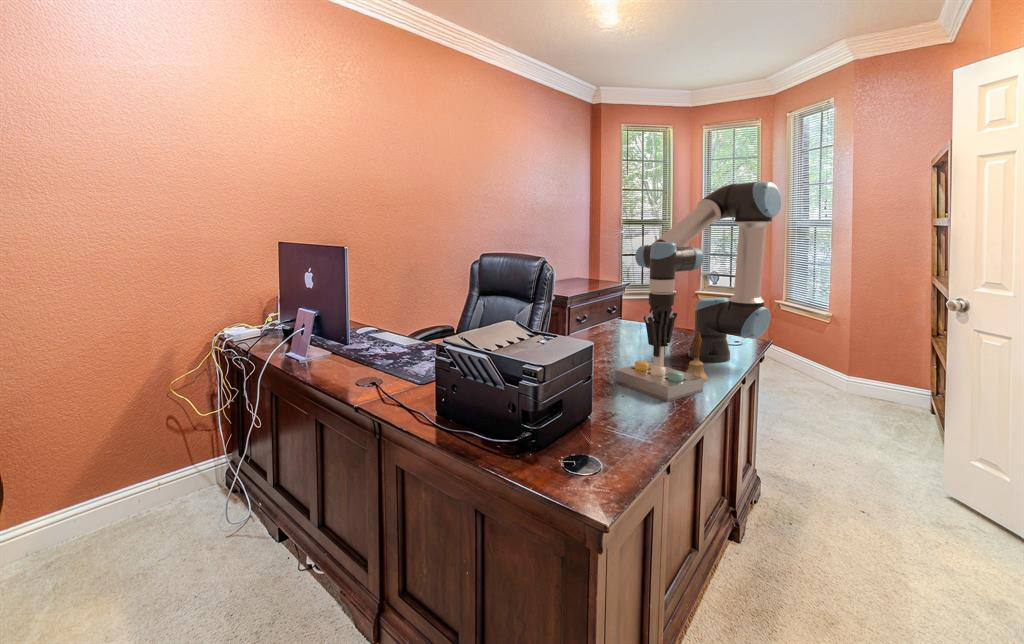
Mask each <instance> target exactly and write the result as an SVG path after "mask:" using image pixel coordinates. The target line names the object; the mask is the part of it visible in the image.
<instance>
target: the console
mask: <svg viewBox="0 0 1024 644" xmlns="http://www.w3.org/2000/svg"><path fill="white" fill-rule="evenodd" d="M647 362H648V363H649V370H648V371H644V372H641V371H637V370H634V365H630V366H626V367H621V368H615V369H614V384H617V385H620V386H622V387H625V388H628V389H630V390H633V391H636V392H639V393H642V394H644V395H647V396H650V397H653V398H656V399H658V400H661V401H663V402H665V403H666V402H667V403H669V402H673V401H676V400H679V399H682V397H683V398H686V397H689V395H690V396H693V395H696V393H697V394H700V393H703V391H704V390H703V389H704V381H703V378H702V377H699V376H695V375H692V374H688V373H686V371H681V370H677V369H674V368H672V367H667V366H664V367H665V368H666V373H665V376H662V377H656V376H653V375H650V373H651V366H654V362H651V361H647ZM669 371H680V372H683V373H684V379H683V381H682V382H679V383H675V382H672V381H669V380H668V372H669Z"/></svg>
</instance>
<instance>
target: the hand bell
mask: <svg viewBox="0 0 1024 644" xmlns="http://www.w3.org/2000/svg"><path fill="white" fill-rule="evenodd" d="M693 336H694V335H693ZM693 338H694V339H693ZM693 338H692V341H693V346H694V359H693V360H690V361H689V363H688V367H687V370H686V371H685V373H688V374H692V375H695V376H699V377H702V378H703V382H706V380H707V381H708V380H709V377H708V375H707V374H706V372H705V369H704V363H703V361H700V360H699V350H700V347H701V336H700V332H696V333H695V336H694V337H693Z"/></svg>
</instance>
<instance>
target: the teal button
mask: <svg viewBox="0 0 1024 644" xmlns="http://www.w3.org/2000/svg"><path fill="white" fill-rule="evenodd" d="M680 371H681V370H678V371H669V372H668V380H669V381H672V382H675V383H679V382H682V381H683V379H684V373H683V372H684V371H682V372H680Z"/></svg>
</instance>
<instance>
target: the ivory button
mask: <svg viewBox="0 0 1024 644" xmlns="http://www.w3.org/2000/svg"><path fill="white" fill-rule="evenodd" d="M665 367H666V366H664V367H657V366H651V373H650V375H653V376H656V377H662V376H665V373H666V368H665Z"/></svg>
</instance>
